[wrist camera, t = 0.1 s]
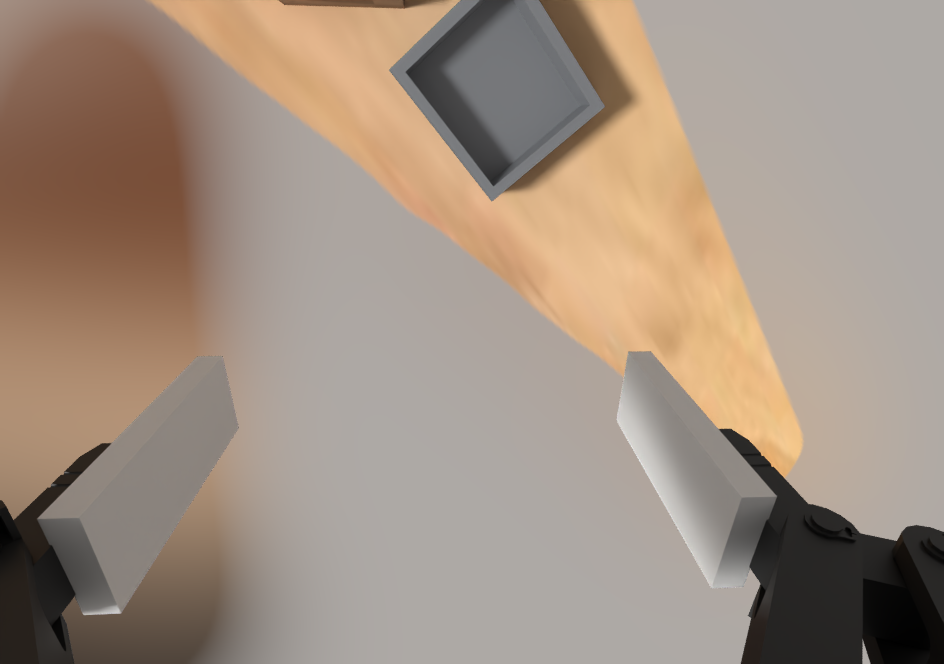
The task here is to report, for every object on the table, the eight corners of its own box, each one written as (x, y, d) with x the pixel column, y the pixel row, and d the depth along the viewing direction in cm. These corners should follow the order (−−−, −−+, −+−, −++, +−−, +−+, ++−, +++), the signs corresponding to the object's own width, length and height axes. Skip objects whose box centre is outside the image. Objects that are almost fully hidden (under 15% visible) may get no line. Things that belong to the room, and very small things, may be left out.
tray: (393, 73, 36) (388, 70, 33) (503, -33, 34) (509, -48, 31) (487, 194, 41) (491, 201, 37) (591, 107, 38) (605, 106, 35)
